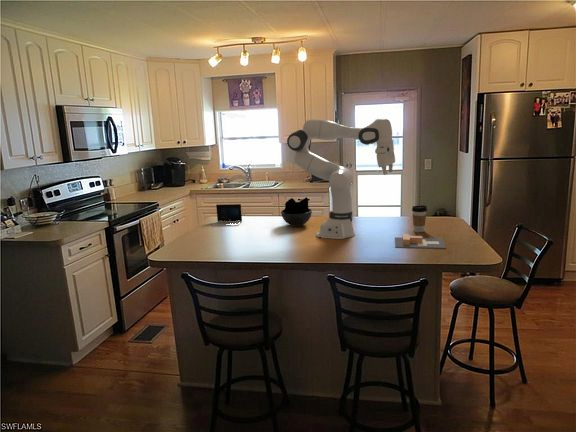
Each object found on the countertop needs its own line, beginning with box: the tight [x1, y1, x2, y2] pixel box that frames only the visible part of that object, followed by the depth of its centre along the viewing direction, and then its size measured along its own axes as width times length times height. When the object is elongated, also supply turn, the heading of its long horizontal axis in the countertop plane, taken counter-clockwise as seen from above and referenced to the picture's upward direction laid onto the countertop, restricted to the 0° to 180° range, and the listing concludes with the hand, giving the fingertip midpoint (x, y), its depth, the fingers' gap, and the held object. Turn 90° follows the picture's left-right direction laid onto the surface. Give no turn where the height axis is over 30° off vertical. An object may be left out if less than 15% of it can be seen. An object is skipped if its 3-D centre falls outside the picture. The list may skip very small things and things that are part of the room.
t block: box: [402, 233, 423, 245], centre depth 226 cm, size 10×11×3 cm
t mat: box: [394, 236, 447, 250], centre depth 226 cm, size 25×18×1 cm
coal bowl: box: [280, 196, 313, 227], centre depth 275 cm, size 20×20×19 cm
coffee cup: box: [411, 204, 428, 233], centre depth 249 cm, size 8×8×15 cm
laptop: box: [211, 203, 243, 227], centre depth 290 cm, size 18×12×13 cm
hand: (388, 173), depth 234 cm, fingers open, 8 cm apart
